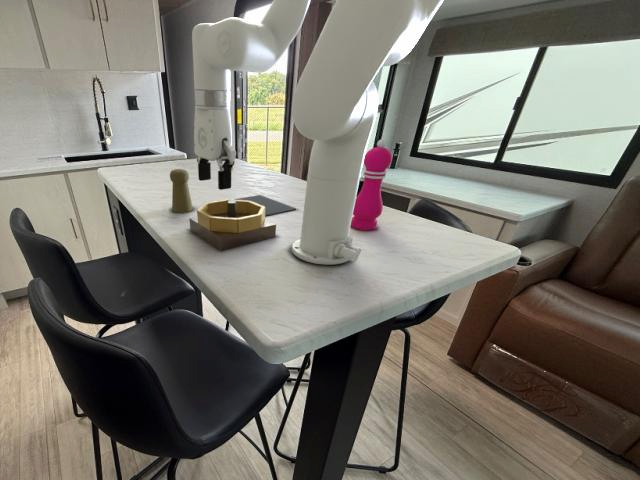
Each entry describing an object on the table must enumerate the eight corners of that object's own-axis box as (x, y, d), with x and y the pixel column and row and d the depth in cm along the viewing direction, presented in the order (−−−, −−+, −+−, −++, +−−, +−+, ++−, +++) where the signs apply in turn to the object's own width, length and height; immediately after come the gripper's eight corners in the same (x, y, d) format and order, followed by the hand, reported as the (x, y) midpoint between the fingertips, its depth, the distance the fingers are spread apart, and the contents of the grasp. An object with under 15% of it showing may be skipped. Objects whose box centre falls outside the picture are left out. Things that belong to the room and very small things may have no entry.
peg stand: (275, 236, 75) (277, 204, 71) (220, 250, 68) (219, 216, 64) (240, 219, 86) (240, 190, 82) (190, 229, 79) (187, 199, 75)
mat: (296, 209, 94) (296, 208, 93) (245, 220, 85) (245, 219, 85) (259, 196, 106) (259, 195, 106) (212, 204, 98) (212, 203, 98)
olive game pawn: (195, 206, 95) (192, 167, 89) (190, 212, 90) (187, 171, 84) (175, 206, 96) (171, 167, 90) (169, 212, 91) (164, 171, 85)
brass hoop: (276, 224, 74) (277, 211, 72) (220, 237, 67) (220, 223, 65) (240, 208, 84) (240, 196, 83) (189, 217, 77) (188, 205, 76)
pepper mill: (382, 226, 82) (404, 139, 71) (370, 233, 77) (392, 142, 67) (356, 219, 86) (373, 137, 75) (343, 226, 82) (359, 139, 71)
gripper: (179, 99, 72) (184, 178, 81) (217, 102, 60) (218, 194, 69) (208, 99, 75) (210, 175, 85) (250, 102, 63) (247, 190, 73)
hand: (214, 184), depth 77 cm, fingers open, 9 cm apart
